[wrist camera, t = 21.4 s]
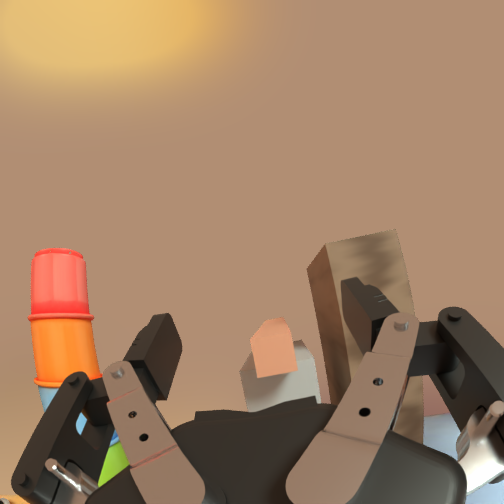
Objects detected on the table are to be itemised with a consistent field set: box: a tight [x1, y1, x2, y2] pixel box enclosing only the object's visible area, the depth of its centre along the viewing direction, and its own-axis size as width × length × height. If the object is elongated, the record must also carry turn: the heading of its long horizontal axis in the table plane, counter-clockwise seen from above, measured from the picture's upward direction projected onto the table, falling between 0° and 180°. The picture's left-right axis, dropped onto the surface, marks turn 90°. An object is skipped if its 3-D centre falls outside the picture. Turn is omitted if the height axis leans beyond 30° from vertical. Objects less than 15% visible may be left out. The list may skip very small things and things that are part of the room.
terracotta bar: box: [250, 317, 298, 378], centre depth 30 cm, size 3×26×3 cm, turn 175°
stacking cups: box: [28, 248, 129, 487], centre depth 20 cm, size 10×10×35 cm
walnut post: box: [307, 229, 424, 444], centre depth 27 cm, size 7×16×30 cm, turn 175°
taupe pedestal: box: [240, 340, 321, 412], centre depth 24 cm, size 6×12×21 cm, turn 175°
